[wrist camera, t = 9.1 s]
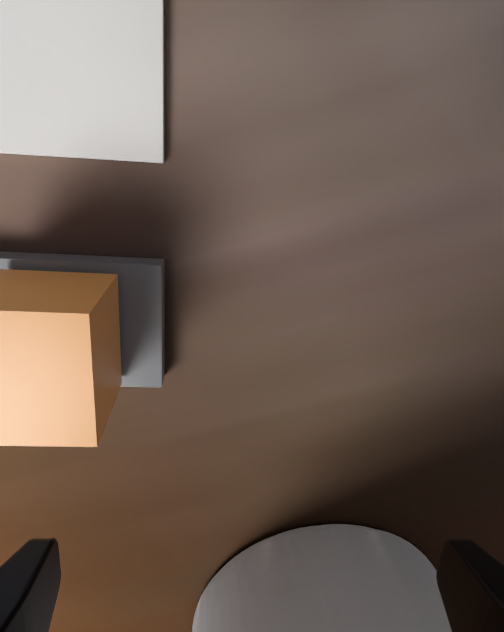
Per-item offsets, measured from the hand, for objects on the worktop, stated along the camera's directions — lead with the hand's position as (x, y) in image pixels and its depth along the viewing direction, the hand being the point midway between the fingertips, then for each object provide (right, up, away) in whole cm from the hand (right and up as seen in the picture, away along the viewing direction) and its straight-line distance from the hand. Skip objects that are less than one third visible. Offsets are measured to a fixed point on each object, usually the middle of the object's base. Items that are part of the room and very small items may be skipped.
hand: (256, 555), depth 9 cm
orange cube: (-7, +4, +9) cm, 12 cm away
